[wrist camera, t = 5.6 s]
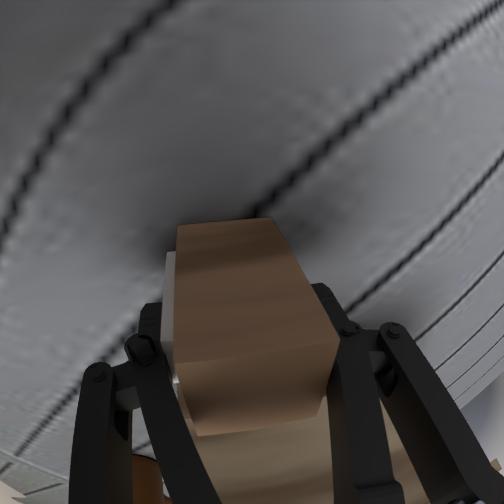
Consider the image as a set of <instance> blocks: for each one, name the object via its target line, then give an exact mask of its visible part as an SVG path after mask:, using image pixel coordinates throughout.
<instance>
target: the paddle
mask: <svg viewBox="0 0 504 504" xmlns="http://www.w3.org/2000/svg"><path fill="white" fill-rule="evenodd" d="M339 343H340V338H339V336H338V334H337V332H336V330H335V328H334V327H333V325H332V323H331V321H330V319H329V317H328V316H327V314H326V312H325V310H324V308H323V307H322V305H321V303H320V301H319V299H318V298H317V296H316V294H315V292H314V290H313V289H312V287H311V285H310V283H309V281H308V280H307V278H306V276H305V274H304V273H303V271H302V269H301V267H300V266H299V264H298V262H297V260H296V259H295V257H294V255H293V253H292V252H291V250H290V248H289V246H288V245H287V243H286V241H285V239H284V238H283V236H282V234H281V233H280V231H279V229H278V227H277V226H276V224H275V222H274V221H273V219H272V217H267V218H254V219H242V220H231V221H220V222H209V223H198V224H188V225H178V226H177V239H176V256H175V279H174V315H173V364H174V367H175V371H176V374H177V377H178V380H179V383H180V387H181V390H182V393H183V396H184V399H185V402H186V405H187V407H188V410H189V413H190V416H191V419H192V422H193V424H194V427H195V430H196V433H197V435H198V436H205V435H215V434H224V433H232V432H239V431H246V430H253V429H259V428H265V427H271V426H276V425H281V424H286V423H291V422H296V421H300V420H305V419H309V418H313V417H317V414H318V411H319V408H320V405H321V402H322V399H323V396H324V393H325V390H326V387H327V383H328V380H329V377H330V374H331V370H332V367H333V364H334V360H335V357H336V353H337V350H338V346H339Z"/></svg>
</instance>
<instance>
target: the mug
mask: <svg viewBox="0 0 504 504" xmlns="http://www.w3.org/2000/svg"><path fill="white" fill-rule="evenodd" d="M132 486H133V504H173V503H172V500H171V498H169V497H167V496H166V495H164V494H163V483H162V474H161V471H160V468H159V465H158V463H157V462H156V461H154V460H152V459H149V458H146V457H143V456H138V455H132Z"/></svg>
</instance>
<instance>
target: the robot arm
mask: <svg viewBox="0 0 504 504" xmlns="http://www.w3.org/2000/svg"><path fill="white" fill-rule="evenodd" d="M287 245H288V244H287ZM291 252H292V251H291ZM175 256H176V251H171V252H167V257H166V267H165V278H164V290H163V302H158V303H146V304H145V306H144V307H143V309H142V310H141V313H140V320H139V328H138V333H137V334H134V335H132V336H131V337H129V338H128V339H127V341H126V342H125V346H124V349H125V352H126V354H127V356H128V359H129V360H128V361H127V362H125V363H123V364H120V365H117V366H114V367H111V366H110V365H109V364H107V363H105V362H97V363H94V364H92V365H90V366H89V367H88V368H87V369H86V370H85V372H84V375H83V380H82V385H81V390H80V396H79V402H78V408H77V414H76V421H75V428H74V436H73V445H72V454H71V465H70V479H69V500H68V504H133V486H132V412H133V410H134V409H137V408H140V407H141V410H142V414H143V417H144V421H145V424H146V428H147V431H148V434H149V438H150V441H151V444H152V447H153V451H154V454H155V457H156V460H157V463H158V465H159V468H160V471H161V474H162V477H163V479H164V482H165V485H166V488H167V490H168V493H169V495H170V498H171V500H172V503H173V504H222V502H221V500H220V498H219V496H218V494H217V492H216V490H215V488H214V486H213V484H212V482H211V480H210V478H209V475H208V473H207V471H206V469H205V467H204V464H203V462H202V460H201V458H200V455H199V453H198V451H197V449H196V446H195V444H194V441H193V439H192V437H191V434H190V432H189V429H188V427H187V424H186V422H185V419H184V417H183V414H182V411H181V409H180V406H179V403H178V401H177V398H176V395H175V392H174V390H173V387H172V379H173V382H174V383H179V380H178V377H177V374H176V371H175V367H174V364H173V315H174V279H175ZM295 259H296V258H295ZM299 266H300V265H299ZM303 273H304V272H303ZM307 280H308V279H307ZM310 285H311V287H312V289H313V290H314V292H315V294H316V296H317V298H318V299H319V301H320V303H321V305H322V307H323V308H324V310H325V312H326V314H327V316H328V317H329V319H330V321H331V323H332V325H333V327H334V328H335V330H336V332H337V334H338V336H339V338H340V343H339V346H338V350H337V353H336V357H335V360H334V364H333V367H332V370H331V374H330V377H329V380H328V383H327V387H326V396H327V406H328V418H329V429H330V442H331V457H332V474H333V494H334V503H333V504H405V498H404V491H403V487H402V485H401V484H400V483H399V482H398V481H396V480H395V478H394V475H393V468H392V462H391V456H390V450H389V444H388V439H387V433H386V428H385V423H384V418H383V413H382V408H381V403H380V400H381V402H382V404H383V406H384V408H385V410H386V412H387V414H388V416H389V418H390V420H391V422H392V424H393V426H394V428H395V430H396V432H397V434H398V436H399V438H400V440H401V442H402V444H403V446H404V448H405V450H406V452H407V454H408V457H409V459H410V461H411V463H412V465H413V467H414V469H415V471H416V474H417V476H418V478H419V480H420V482H421V485H422V487H423V489H424V491H425V493H426V496H427V497H428V499H429V501H430V503H431V504H504V477H503V476H502V475H501V474H500V473H499V472H498V471H497V470H496V469H494V468H493V467H492V466H491V464H490V462H489V460H488V458H487V456H486V455H485V453H484V451H483V449H482V448H481V446H480V444H479V442H478V441H477V439H476V437H475V435H474V434H473V432H472V430H471V429H470V427H469V425H468V423H467V421H466V420H465V418H464V416H463V415H462V413H461V412H460V410H459V408H458V407H457V405H456V403H455V402H454V400H453V399H452V397H451V395H450V394H449V392H448V391H447V389H446V388H445V386H444V385H443V383H442V381H441V380H440V378H439V377H438V375H437V374H436V372H435V371H434V369H433V368H432V366H431V365H430V363H429V362H428V360H427V359H426V357H425V356H424V355H423V353H422V352H421V350H420V349H419V347H418V346H417V344H416V343H415V342H414V340H413V339H412V337H411V336H410V335H409V333H408V332H407V330H406V329H405V328H404V327H403V326H402V325H400V324H398V323H394V322H387V323H385V324H383V325H382V326H381V327H380V330H365V329H362V328H361V326H360V325H358V324H357V323H355V322H353V321H350V320H349V319H348V317H347V316H346V314H345V312H344V311H343V309H342V307H341V306H340V304H339V303H338V302H337V299H336V298H335V296H334V294H333V293H332V291H331V290H330V288H329V287H327V286H326V285H324V284H323V283H316V284H310ZM379 398H380V399H379Z"/></svg>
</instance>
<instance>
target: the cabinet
mask: <svg viewBox="0 0 504 504" xmlns="http://www.w3.org/2000/svg"><path fill="white" fill-rule="evenodd" d="M177 394H178V403H179V406H180V409H181V411H182V414H183V417H184V419H185V422H186V424H187V427H188V429H189V432H190V434H191V437H192V439H193V441H194V444H195V446H196V449H197V451H198V453H199V455H200V458H201V460H202V462H203V464H204V467H205V469H206V471H207V473H208V475H209V478H210V480H211V482H212V484H213V486H214V488H215V490H216V492H217V494H218V496H219V498H220V500H221V502H222V504H333V503H334V494H333V474H332V457H331V442H330V429H329V418H328V406H327V396H324V397H323V399H322V402H321V405H320V408H319V411H318V414H317V417H313V418H309V419H305V420H300V421H296V422H291V423H286V424H281V425H276V426H271V427H265V428H259V429H253V430H246V431H239V432H232V433H224V434H215V435H205V436H198V435H197V433H196V430H195V427H194V424H193V422H192V419H191V416H190V413H189V410H188V407H187V405H186V402H185V399H184V396H183V393H182V390H181V387H180V383H177ZM379 399H380V398H379ZM380 403H381V408H382V413H383V418H384V423H385V428H386V433H387V439H388V444H389V450H390V456H391V462H392V468H393V475H394V478H395V480H396V481H398V482H399V483H400V484H401V485H402V487H403V491H404V498H405V504H431V503H430V501H429V499H428V497H427V496H426V493H425V491H424V489H423V487H422V485H421V482H420V480H419V478H418V476H417V474H416V471H415V469H414V467H413V465H412V463H411V461H410V459H409V457H408V454H407V452H406V450H405V448H404V446H403V444H402V442H401V440H400V438H399V436H398V434H397V432H396V430H395V428H394V426H393V424H392V422H391V420H390V418H389V416H388V414H387V412H386V410H385V408H384V406H383V404H382V402H381V400H380ZM490 464H491V466H492V467H493V468H494V469H496V470H497V471H500V470H501V469H502V468H501V466H500V464H499V462H498V460H497V459H494V460H493V461H492V462H490Z"/></svg>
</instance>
